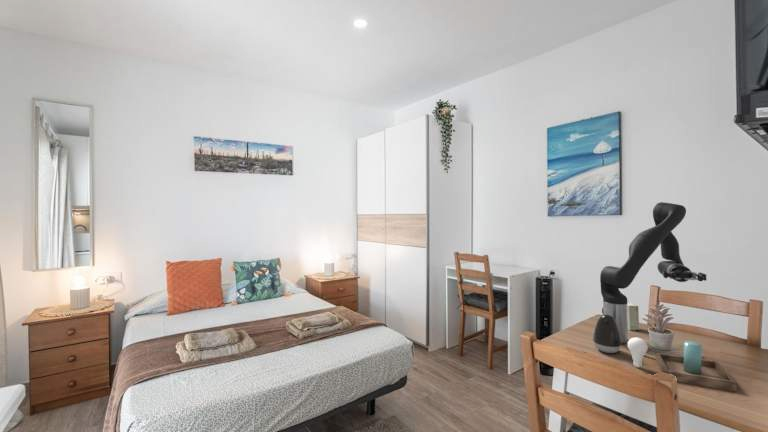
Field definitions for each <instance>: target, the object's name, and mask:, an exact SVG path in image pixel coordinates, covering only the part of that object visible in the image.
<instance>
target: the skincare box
mask: <svg viewBox="0 0 768 432" xmlns="http://www.w3.org/2000/svg"><path fill="white" fill-rule="evenodd" d="M627 312H628V331H636V330H639V331H640V322H639V321H640V318H639V316H640V315H639V305H636V304H634V303H633V302H627Z"/></svg>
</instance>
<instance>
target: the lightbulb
mask: <svg viewBox="0 0 768 432" xmlns="http://www.w3.org/2000/svg"><path fill="white" fill-rule="evenodd" d="M627 348H628V350H629V351H630V353H631V357H632V358H631V359H632V360H633V362H632V364H633V366H635V367H636V368H638V369H639V368H642V366H643V361H644V356H645V354H646V353H647V352H648V349H649V347H648V344H647V343H646V341H645V340H644V339H642V338H640V337H631V338H630V339H629V340H628V342H627Z"/></svg>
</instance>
